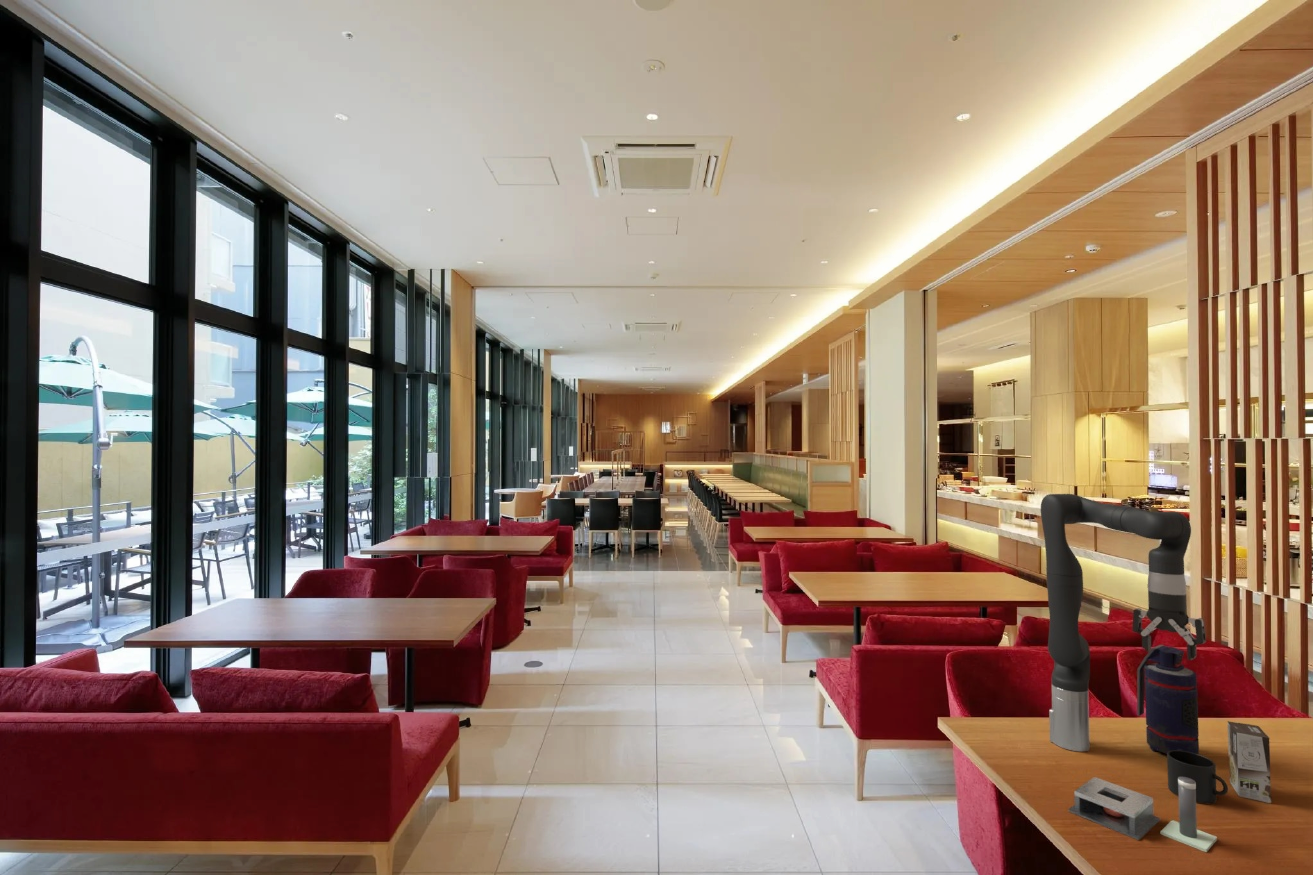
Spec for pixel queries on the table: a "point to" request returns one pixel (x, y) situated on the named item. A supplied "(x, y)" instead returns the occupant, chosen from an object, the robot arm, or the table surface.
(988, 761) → the table surface
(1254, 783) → the coffee box
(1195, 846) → the pad
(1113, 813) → the button
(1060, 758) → the table surface
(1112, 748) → the table surface
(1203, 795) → the mug
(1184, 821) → the peg
